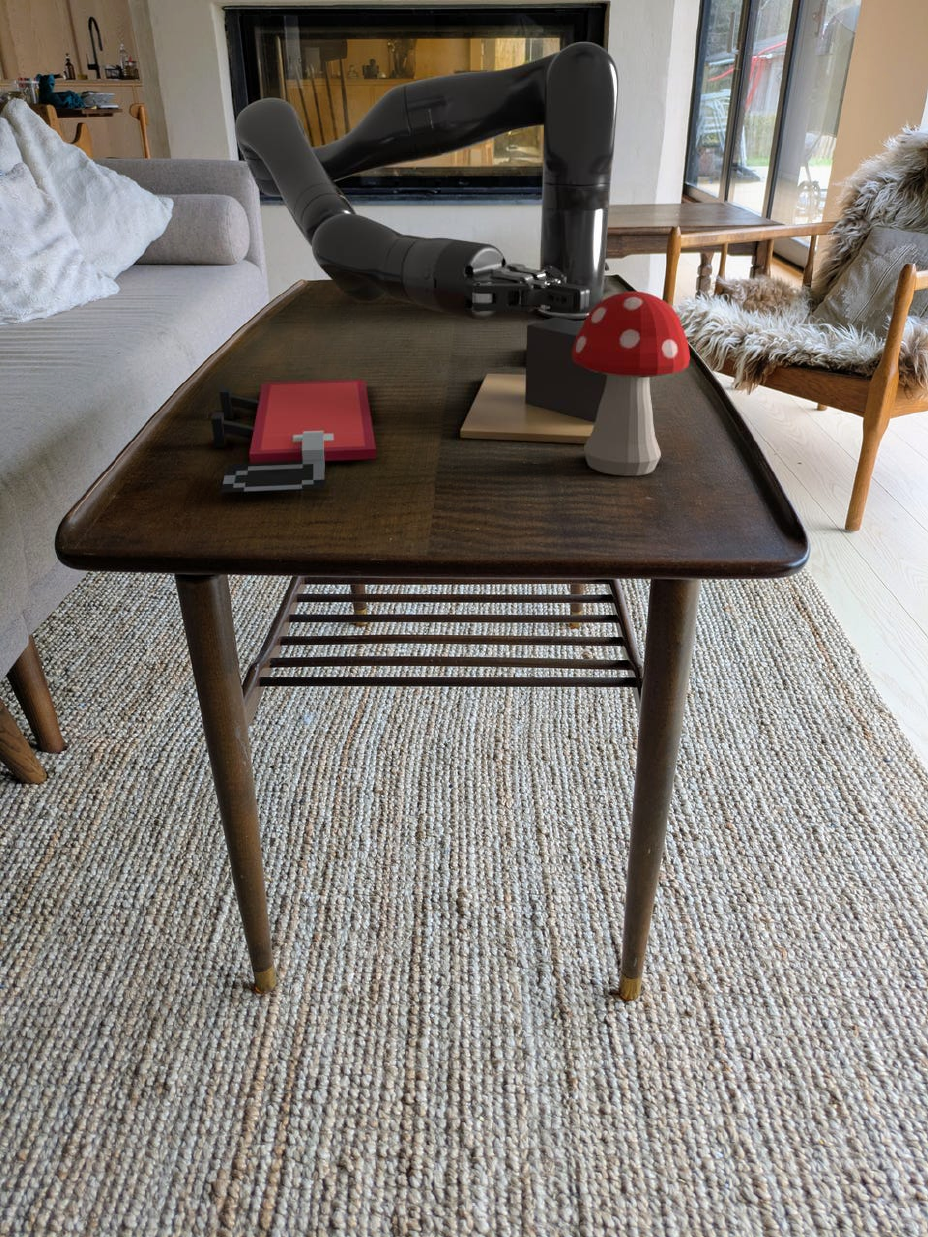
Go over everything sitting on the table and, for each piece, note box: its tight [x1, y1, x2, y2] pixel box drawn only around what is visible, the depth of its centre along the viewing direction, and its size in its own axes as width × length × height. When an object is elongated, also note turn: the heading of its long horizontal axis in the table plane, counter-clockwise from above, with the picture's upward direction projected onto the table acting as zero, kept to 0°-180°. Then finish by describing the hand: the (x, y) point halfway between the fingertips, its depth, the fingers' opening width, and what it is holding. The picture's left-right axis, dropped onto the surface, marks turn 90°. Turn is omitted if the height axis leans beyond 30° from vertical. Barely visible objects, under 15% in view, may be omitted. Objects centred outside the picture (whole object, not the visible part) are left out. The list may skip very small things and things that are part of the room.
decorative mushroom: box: [572, 290, 691, 476], centre depth 77 cm, size 10×9×15 cm
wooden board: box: [459, 373, 595, 445], centre depth 94 cm, size 19×17×1 cm
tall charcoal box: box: [525, 317, 607, 423], centre depth 90 cm, size 8×5×10 cm
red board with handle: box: [210, 379, 377, 493], centre depth 87 cm, size 30×3×15 cm
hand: (584, 300), depth 87 cm, fingers closed
